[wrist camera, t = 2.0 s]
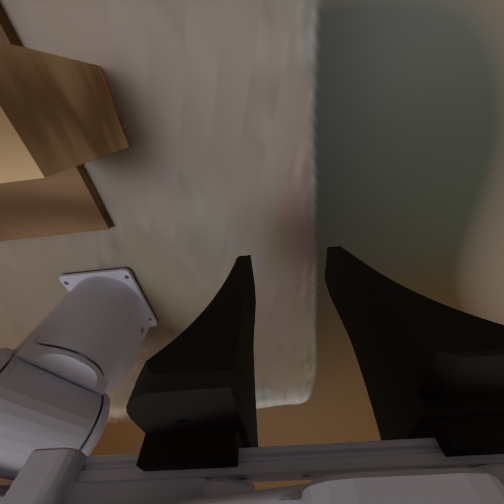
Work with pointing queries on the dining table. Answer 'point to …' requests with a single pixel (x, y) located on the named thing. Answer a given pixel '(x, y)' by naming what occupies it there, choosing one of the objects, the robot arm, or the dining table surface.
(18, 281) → the dining table surface
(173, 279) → the dining table surface
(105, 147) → the oak block
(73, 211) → the walnut board
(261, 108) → the dining table surface
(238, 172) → the dining table surface
